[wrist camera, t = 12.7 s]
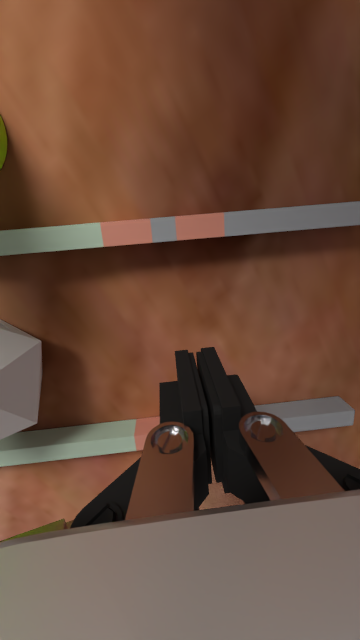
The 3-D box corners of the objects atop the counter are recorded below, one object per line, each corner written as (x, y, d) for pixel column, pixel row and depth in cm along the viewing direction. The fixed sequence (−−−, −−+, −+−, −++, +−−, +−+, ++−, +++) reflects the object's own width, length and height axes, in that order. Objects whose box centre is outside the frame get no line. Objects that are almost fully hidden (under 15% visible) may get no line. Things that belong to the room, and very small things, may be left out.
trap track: (-158, 246, 17) (-199, 247, 15) (359, 203, 18) (382, 199, 16) (-66, 456, 22) (-88, 477, 20) (337, 409, 23) (353, 425, 21)
